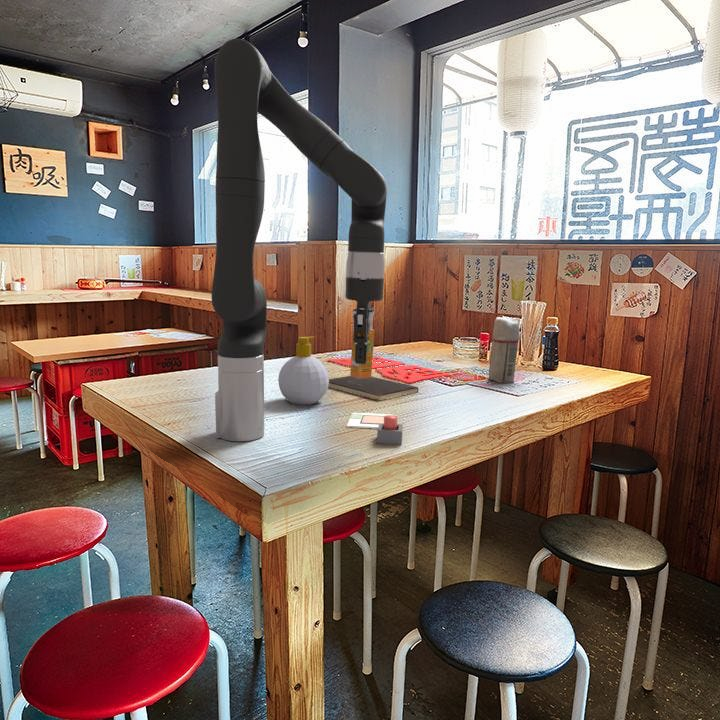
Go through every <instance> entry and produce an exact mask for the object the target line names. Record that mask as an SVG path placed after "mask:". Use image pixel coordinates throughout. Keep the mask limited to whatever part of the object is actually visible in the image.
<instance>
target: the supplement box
mask: <svg viewBox="0 0 720 720" xmlns="http://www.w3.org/2000/svg"><path fill="white" fill-rule="evenodd" d="M375 332H376V331H375V329H373V328H372V329H371V332H370V333H369V334H368V343H367V358H366V363H365V364H357V363H355V347H356V345H355V343H354V341H353V338H354V331H353V330H352V340H351V355H350V358H351V367H350V375H349V376H353V377H355V378H359V379H361V378H370V377H371V376H372V359H373V356H374V345H375V344H374V343H375V342H374V341H375ZM358 337H364V333H359V334H358Z"/></svg>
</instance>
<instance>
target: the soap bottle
mask: <svg viewBox="0 0 720 720" xmlns="http://www.w3.org/2000/svg"><path fill="white" fill-rule="evenodd" d="M311 339H312V340H313V339H315V336H299V337H298V343H296V349H295V350H296V351H295V352H296V355H295V356H294V357H291V358H289V359H288V360H287V361H286V362H285V363H284V364H283V365H282V367H281V368H280V370H279V373H278V379H277V381H278V387H279V388H278V389H279V390H280V392H281V395H282V396H283V397H284V398H285V400H286V401H288V402H289V403H290V404H293V405H296V406H310V405H314V404H316V403H317V402H319V401H320V400H321V399H322V398H323V397H324V396H325V395H326V393H327V391H328V389H329V387H328V385H329V379H330V378H329V373H328V370H327V368H326V367H325V365H324V364H323V363H322V362H321V361H320V360H319V359H318V358H316V357H314V356H312V343H310V341H309V340H311Z"/></svg>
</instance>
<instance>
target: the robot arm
mask: <svg viewBox="0 0 720 720" xmlns="http://www.w3.org/2000/svg"><path fill="white" fill-rule="evenodd" d="M213 65H214V66H213V67H214V69H213V70H214V71H213V73H214V83H215V94H216V106H217V138H216V143H217V144H216V168H215V170H216V172H215V243H216V245H215V246H216V247H215V248H216V249H215V262H214V271H213V277H212V286H211V305H212V308H213V310H214V312H215V313H216V315H217V317H218V318H220V320H222V331H221V335H220V337H219V339H218V342H217V373H218V374H217V378H218V380H217V382H218V386H217V387H218V390H217V391H216V392H215V394H214V404H215V405H214V407H215V438H216V439H223V440H225V441H229V442H249V441H254V440H258V439H261V438H262V437H263V436H265V377H264V376H265V374H264V373H265V369H264V367H265V364H264V363H265V360H264V359H265V358H264V357H265V356H264V355H265V354H264V353H265V351H264V347H265V343H266V338H267V314H268V313H267V310H268V304H267V294H266V290H265V288H264V286H263V284H262V282H260V281H259V280H258V279H257V278H255V274H254V256H255V255H254V252H255V246H256V242H257V237H258V235H259V230H260V227H261V223H262V219H263V214H264V210H265V209H264V207H265V192H266V191H265V188H266V187H265V185H266V181H265V179H266V177H265V175H266V174H265V165H264V158H263V152H262V146H261V141H260V135H259V128H258V127H259V126H258V114H259V115H261V116H262V117H263V118H265V119H266V120H268V121H269V122H270V123H271V124H272V125H274V127H275V128H276V129H278V131H280V132H281V133H282V134H283V135H284V136H285V138H287V140H289V141H290V142H291V143H292V145H293V146H295V148H296V149H297V150H298V151H299V152H300V153H302V155H303V156H304V157H306V158H307V160H309V162H311V163H312V164H313V165H314V166H315V167H316V168H317V169H319V171H320V172H321V173H323V174H325V176H327V177H328V178H330V179H331V180H333V181H334V182H335V183H336V185H338V186H339V188H341V189H342V190H343V191H344V192H345V194H346V195H348V197H350V199H351V214H350V215H351V217H350V218H351V222H350V225H349V228H348V229H349V231H348V245H347V246H348V247H347V251H348V252H347V258H346V262H345V263H346V267H345V291H344V292H345V295H344V297H345V299H346V300H349V301H356V308H354V309H353V310H352V318H353V324H352V332H353V331H354V338H353V337H352V338H353V341H354V343H355V345H356V347H355V363H357V364H365V363H366V358H367V343H368V334H369V333H370V332H371V329H373V327H374V326H373V324H374V323H373V322H374V316H375V309H374V308H372V306H371V305H372V302H380V301H382V300H384V286H385V285H384V284H385V283H384V282H385V255H384V254H385V253H384V252H385V227H384V226H385V225H384V223H385V217H386V209H387V208H386V205H387V193H388V190H387V183H386V179H385V177H384V176H383V174H382V173H381V172H380V171H379V170H378V169H377V168H376V167H375V166H373V165H372V164H371V163H370V162H368V161H367V160H366V159H364V158H363V157H362V156H360V155H359V153H356V152H355V151H354V150H353V149H352V147H350V145H349V144H348V143H347V142H346V141H345V140H343V138H341V136H340V135H339V134H337V133H336V132H335V131H334V130H333V129H332V128H331V127H330V126H329V125H327V124H326V122H325V121H322V120H321V119H320V118H319V117H318V116H317V115H315V114H313V113H312V112H311V111H309V110H308V109H307V108H306V107H304V106H303V105H301V104H300V102H298V101H297V100H296V99H295V98H294V97H293V96H292V95H291V94H290V93H289V92H288V91H287V90H286V89H285V88H284V86H283V85H282V83H280V81H279V80H278V79H277V77H275V75H274V74H273V73H272V71H271V70H270V67H269V65H268V62H267V61H266V59H265V58H264V56H263V55H262V54H261V53H260V51H259V50H258V49H257V48H256V47H255V45H254V44H252V43H251V42H249V41H247V40H246V39H242V38H231V39H229V40H227V41H226V42H224V43H223V44H222V45H221V46H220V48H219V49H218V51H217V53H216V56H215V58H214V64H213ZM359 333H364V337H358V334H359Z"/></svg>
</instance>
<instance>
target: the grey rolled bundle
mask: <svg viewBox="0 0 720 720" xmlns="http://www.w3.org/2000/svg"><path fill="white" fill-rule="evenodd" d="M519 340H520V323H519V321H518V320H516V319H514V318H508V317H502V316H497V317H496V318H495V319H494V323H493V327H492V338H491V347H490V348H491V350H490V358H489V360H490V361H489V367H488V378H487V379H488V380H490V381H495V382H499V383H513V382H515V372H516V364H517V363H516V362H517V355H518V345H519Z"/></svg>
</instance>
